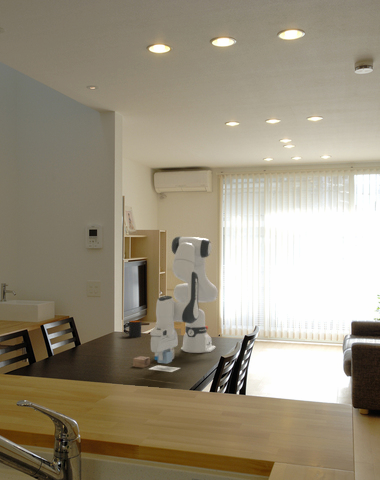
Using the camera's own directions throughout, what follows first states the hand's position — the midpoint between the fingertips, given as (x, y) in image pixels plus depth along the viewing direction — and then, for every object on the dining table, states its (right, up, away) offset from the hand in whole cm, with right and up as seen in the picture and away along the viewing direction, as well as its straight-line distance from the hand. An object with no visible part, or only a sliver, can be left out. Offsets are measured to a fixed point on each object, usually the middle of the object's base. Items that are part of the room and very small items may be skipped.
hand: (164, 358), depth 233 cm
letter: (0, -5, 0) cm, 5 cm away
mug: (-27, -9, +97) cm, 101 cm away
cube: (0, -2, 0) cm, 2 cm away
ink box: (-1, -6, +22) cm, 23 cm away
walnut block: (-12, -5, +6) cm, 14 cm away
